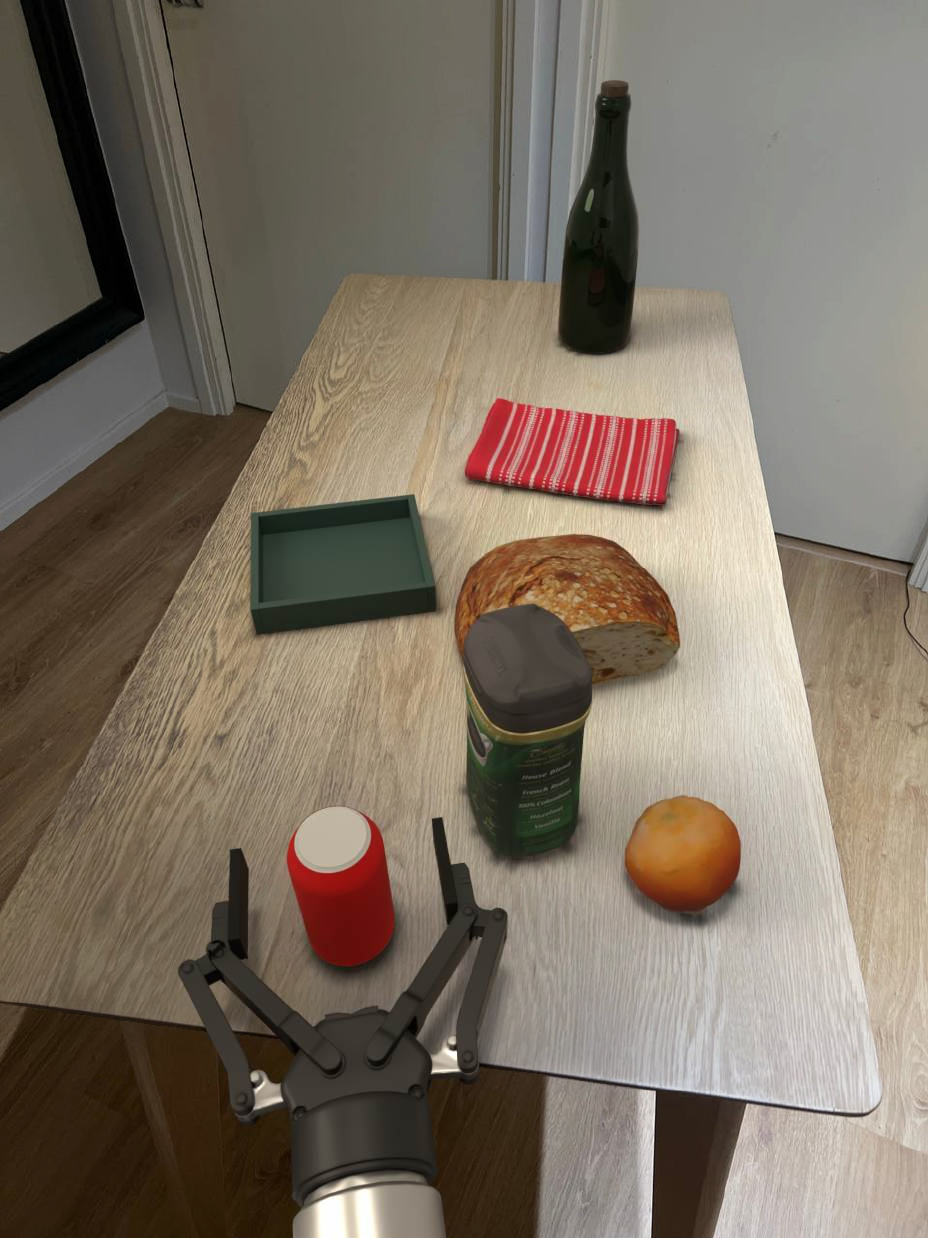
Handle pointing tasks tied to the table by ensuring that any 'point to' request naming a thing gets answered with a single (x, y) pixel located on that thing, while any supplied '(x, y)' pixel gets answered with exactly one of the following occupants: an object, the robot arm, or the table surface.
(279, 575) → the drinks tray
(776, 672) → the table surface
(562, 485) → the dish towel
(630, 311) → the wine bottle
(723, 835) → the fruit
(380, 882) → the beverage can
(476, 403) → the table surface
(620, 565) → the bread
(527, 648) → the coffee jar
